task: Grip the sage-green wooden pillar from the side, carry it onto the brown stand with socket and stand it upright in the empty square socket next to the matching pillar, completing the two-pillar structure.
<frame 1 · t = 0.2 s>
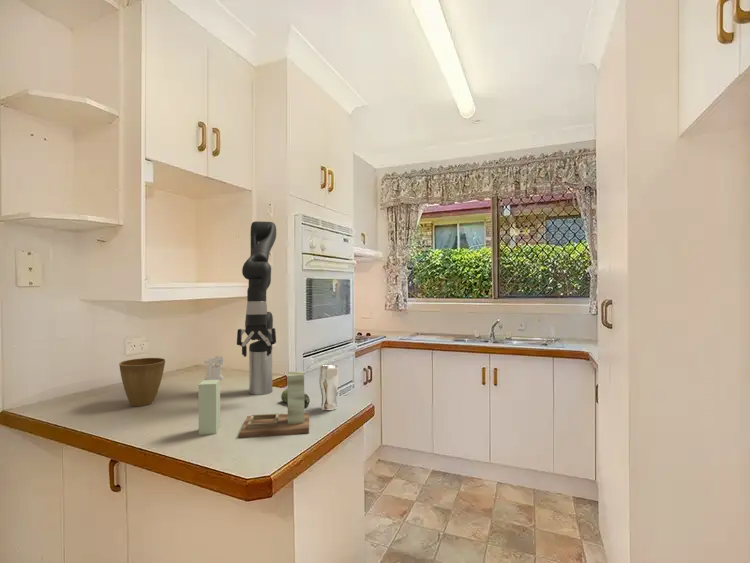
hand: (256, 356, 146), 17 cm above the table, tool pointing down, fingers open, 8 cm apart
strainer: (213, 393, 159), on the table
beer glass: (329, 408, 138), on the table
plant pot: (143, 404, 145), on the table
brown stand with socket: (276, 426, 121), on the table
sage pillar: (209, 431, 118), on the table
vegetable: (295, 405, 143), on the table
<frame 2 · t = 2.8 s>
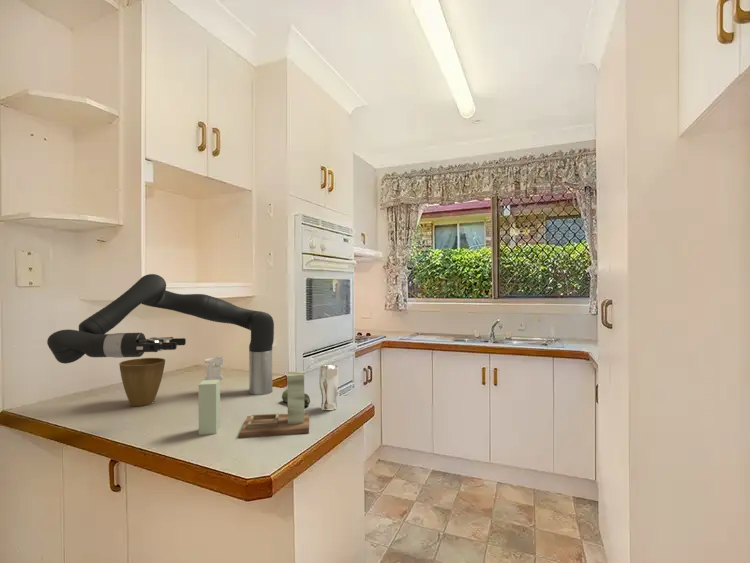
hand: (181, 343, 122), 26 cm above the table, tool horizontal, fingers open, 8 cm apart
nothing on the table moved.
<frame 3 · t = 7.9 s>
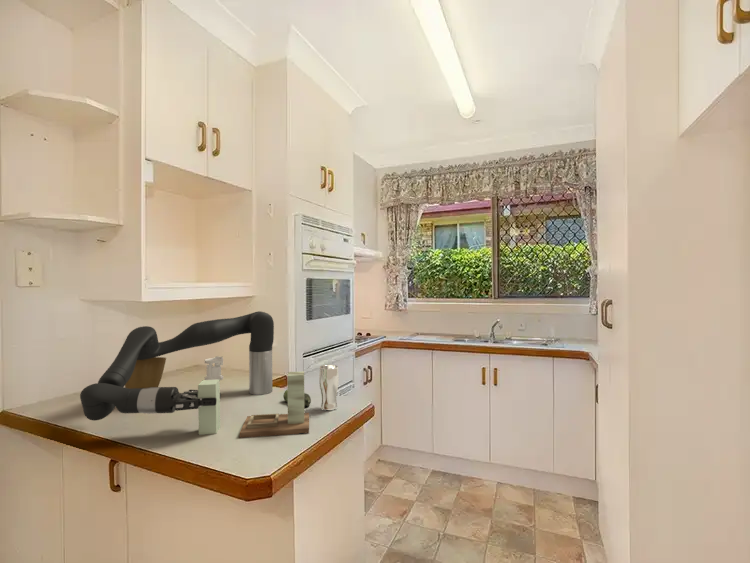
hand: (218, 398, 118), 10 cm above the table, tool horizontal, fingers closed on sage pillar, 5 cm apart
plant pot: (142, 401, 145), point 1 cm above the table, touching arm
sage pillar: (209, 430, 118), on the table, touching gripper
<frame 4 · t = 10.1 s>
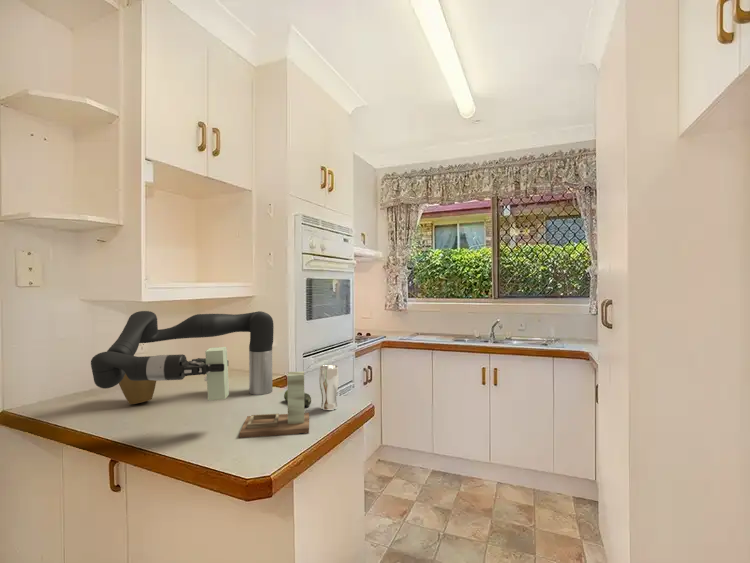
hand: (225, 365, 119), 20 cm above the table, tool horizontal, fingers closed on sage pillar, 5 cm apart
plant pot: (141, 402, 145), point 1 cm above the table
sage pillar: (218, 397, 119), point 10 cm above the table, touching gripper
everything else where it was.
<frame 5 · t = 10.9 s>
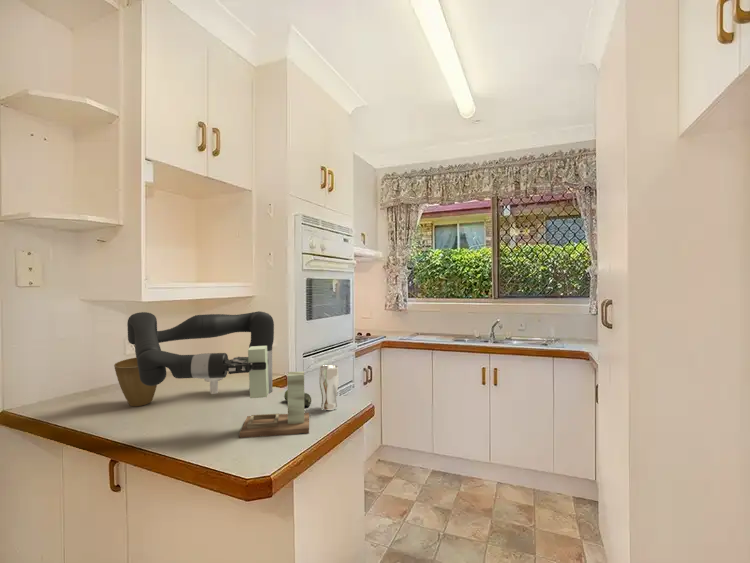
hand: (266, 363, 120), 20 cm above the table, tool horizontal, fingers closed on sage pillar, 5 cm apart
sage pillar: (259, 395, 121), point 10 cm above the table, touching gripper
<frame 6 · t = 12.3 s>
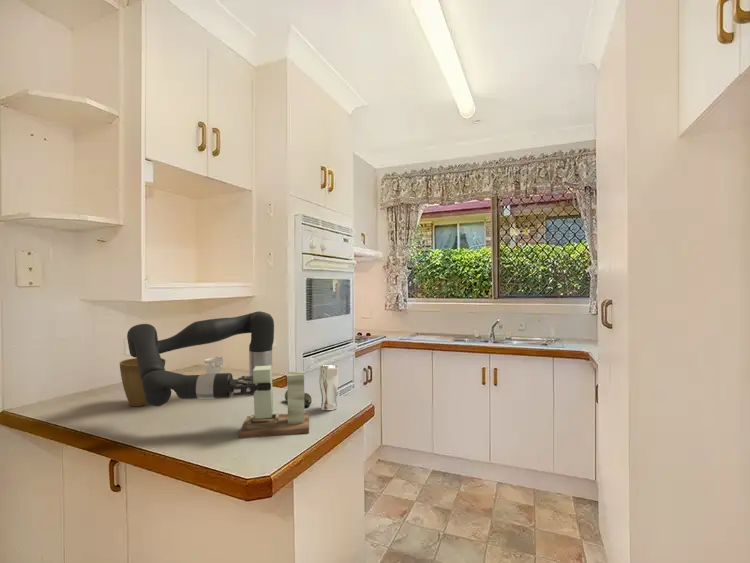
hand: (271, 384, 121), 14 cm above the table, tool horizontal, fingers closed on sage pillar, 5 cm apart
sage pillar: (264, 415, 121), point 4 cm above the table, touching gripper
when the fingers open (11 cm above the table, at t = 13.4 s): sage pillar stays where it is, resting on brown stand with socket.
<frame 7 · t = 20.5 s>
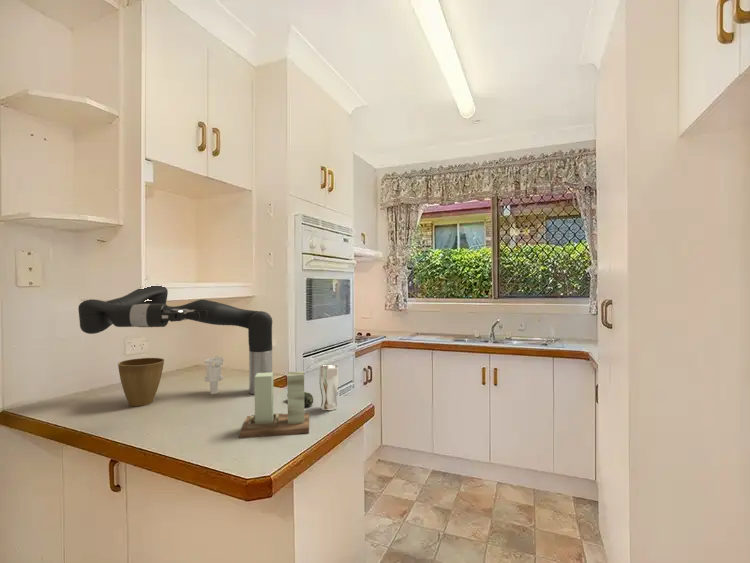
hand: (203, 314, 126), 35 cm above the table, tool horizontal, fingers open, 8 cm apart
sage pillar: (264, 422, 121), point 1 cm above the table, touching brown stand with socket
at the end: sage pillar 0.4 cm from the target spot, point 1.5 cm above the table; sage pillar tilted 0°; the gripper is holding nothing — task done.
